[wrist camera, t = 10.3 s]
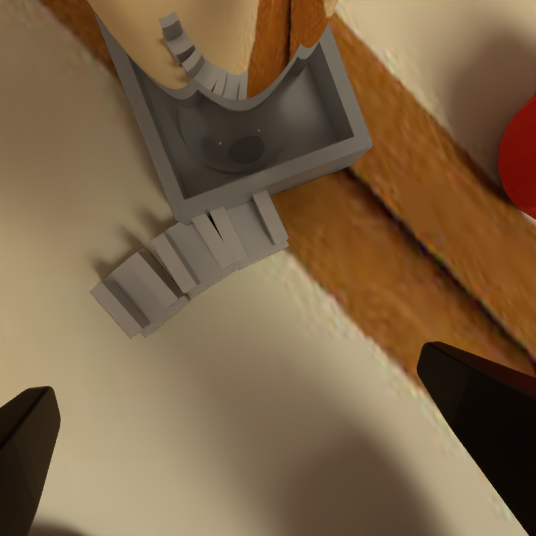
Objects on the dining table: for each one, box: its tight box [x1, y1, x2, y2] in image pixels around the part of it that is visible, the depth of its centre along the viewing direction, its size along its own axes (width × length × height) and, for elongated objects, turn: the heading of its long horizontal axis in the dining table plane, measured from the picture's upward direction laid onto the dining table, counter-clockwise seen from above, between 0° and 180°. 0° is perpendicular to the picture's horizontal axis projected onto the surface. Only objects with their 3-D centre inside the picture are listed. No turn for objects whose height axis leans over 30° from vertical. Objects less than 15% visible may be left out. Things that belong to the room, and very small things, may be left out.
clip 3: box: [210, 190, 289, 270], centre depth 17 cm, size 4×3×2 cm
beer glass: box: [86, 0, 339, 173], centre depth 10 cm, size 7×7×15 cm
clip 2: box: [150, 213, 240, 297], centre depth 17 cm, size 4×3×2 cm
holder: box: [94, 13, 373, 226], centre depth 17 cm, size 10×10×3 cm
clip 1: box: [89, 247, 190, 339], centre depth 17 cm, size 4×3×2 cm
